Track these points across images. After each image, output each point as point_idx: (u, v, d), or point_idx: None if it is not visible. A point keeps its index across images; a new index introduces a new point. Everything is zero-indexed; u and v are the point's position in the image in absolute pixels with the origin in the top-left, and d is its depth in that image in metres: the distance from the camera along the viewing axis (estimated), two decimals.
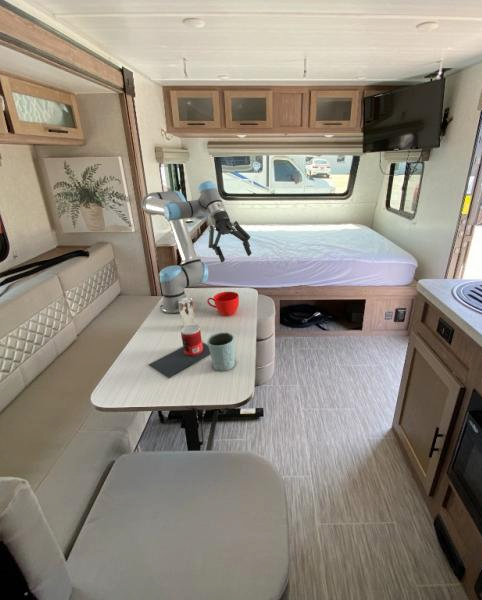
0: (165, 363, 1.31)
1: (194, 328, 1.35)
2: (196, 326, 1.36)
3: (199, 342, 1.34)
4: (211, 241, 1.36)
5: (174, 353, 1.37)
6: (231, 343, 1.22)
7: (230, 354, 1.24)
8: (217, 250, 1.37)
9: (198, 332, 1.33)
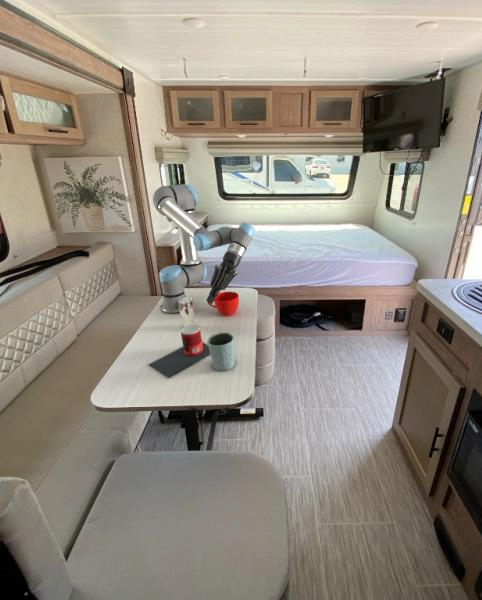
0: (165, 363, 1.31)
1: (194, 328, 1.35)
2: (196, 326, 1.36)
3: (199, 342, 1.34)
4: (211, 280, 1.42)
5: (174, 353, 1.37)
6: (231, 343, 1.22)
7: (230, 354, 1.24)
8: (211, 290, 1.40)
9: (198, 332, 1.33)
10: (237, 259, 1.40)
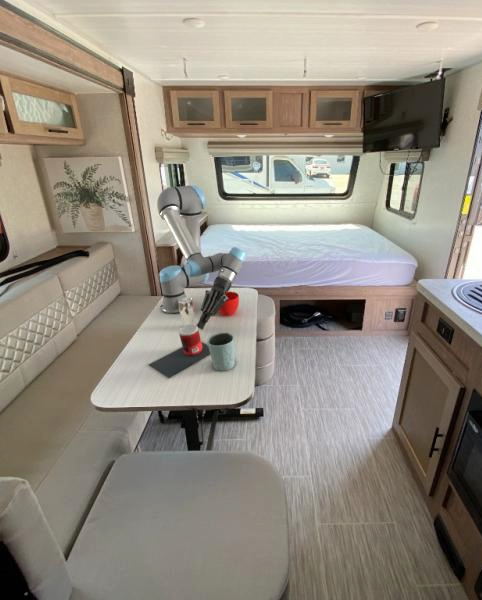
0: (165, 363, 1.31)
1: (192, 328, 1.34)
2: (194, 326, 1.35)
3: (198, 342, 1.34)
4: (202, 306, 1.41)
5: (174, 353, 1.37)
6: (231, 343, 1.22)
7: (230, 354, 1.24)
8: None
9: (196, 332, 1.32)
10: (228, 284, 1.40)
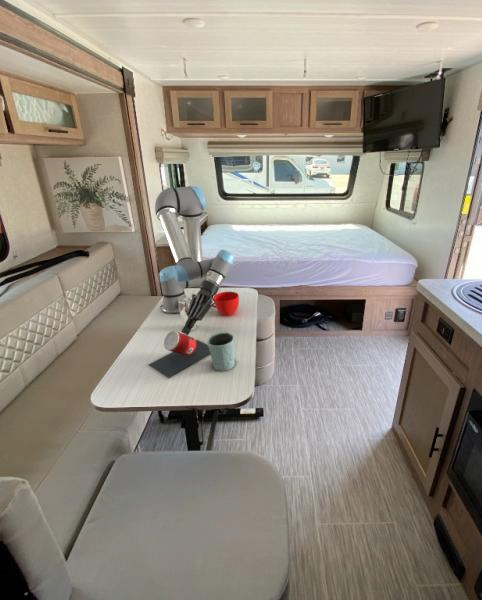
0: (165, 363, 1.31)
1: (174, 337, 1.27)
2: (174, 333, 1.28)
3: (187, 345, 1.30)
4: (188, 310, 1.35)
5: (174, 353, 1.37)
6: (231, 343, 1.22)
7: (230, 354, 1.24)
8: (187, 321, 1.33)
9: (179, 340, 1.26)
10: (215, 288, 1.34)
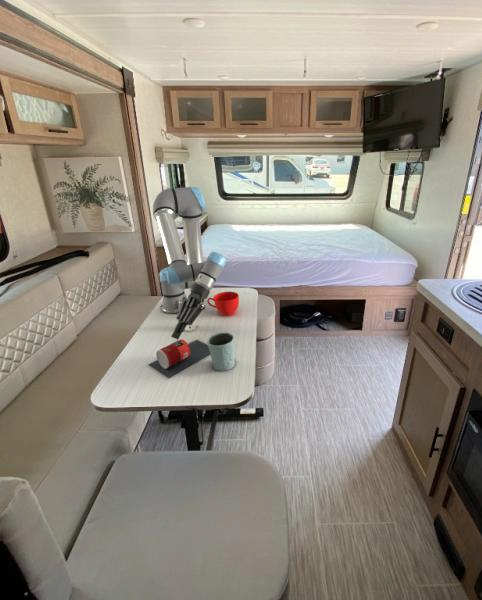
0: None
1: (162, 356, 1.25)
2: (161, 353, 1.25)
3: (179, 355, 1.28)
4: (178, 314, 1.32)
5: None
6: (231, 343, 1.22)
7: (230, 354, 1.24)
8: None
9: (169, 358, 1.24)
10: (205, 291, 1.31)
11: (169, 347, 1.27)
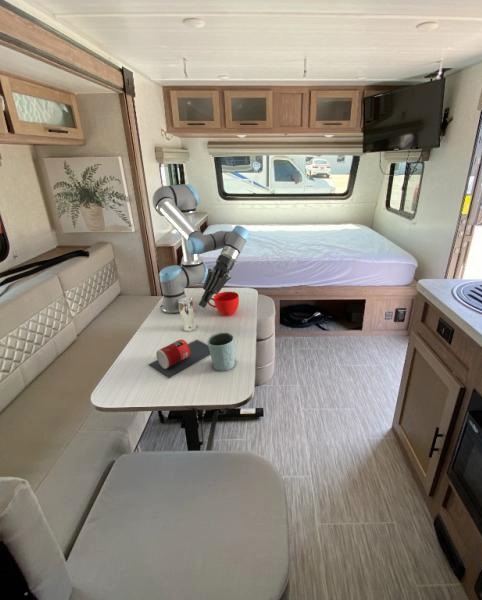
0: None
1: (162, 356, 1.25)
2: (161, 353, 1.25)
3: (179, 355, 1.28)
4: (204, 284, 1.39)
5: None
6: (231, 343, 1.22)
7: (230, 354, 1.24)
8: None
9: (169, 358, 1.24)
10: (230, 263, 1.38)
11: (169, 347, 1.27)
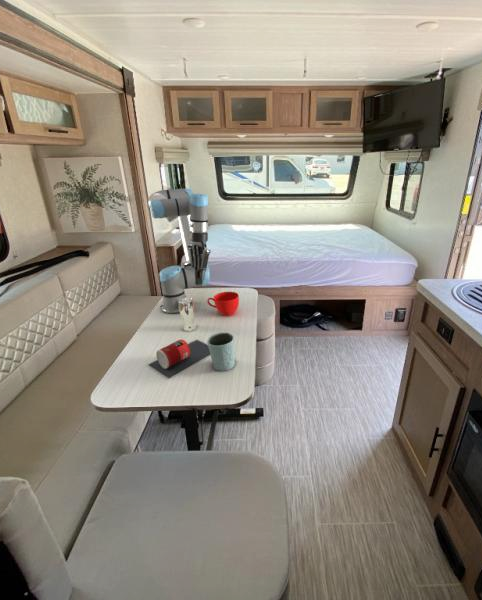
0: None
1: (162, 356, 1.25)
2: (161, 353, 1.25)
3: (179, 355, 1.28)
4: (191, 263, 1.44)
5: None
6: (231, 343, 1.22)
7: (230, 354, 1.24)
8: None
9: (169, 358, 1.24)
10: (203, 237, 1.36)
11: (169, 347, 1.27)
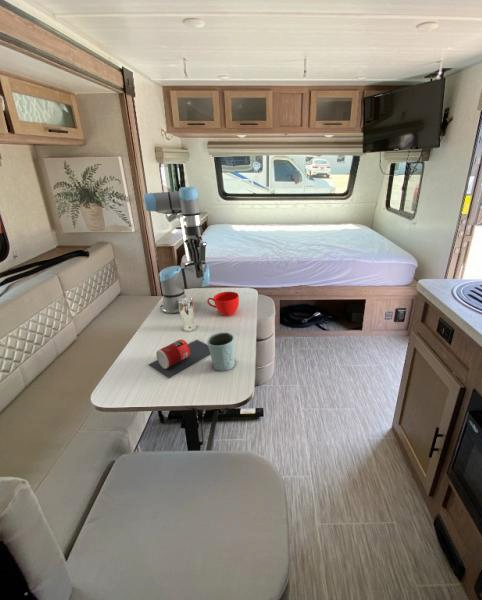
0: None
1: (162, 356, 1.25)
2: (161, 353, 1.25)
3: (179, 355, 1.28)
4: (190, 257, 1.46)
5: None
6: (231, 343, 1.22)
7: (230, 354, 1.24)
8: None
9: (169, 358, 1.24)
10: (198, 230, 1.37)
11: (169, 347, 1.27)
